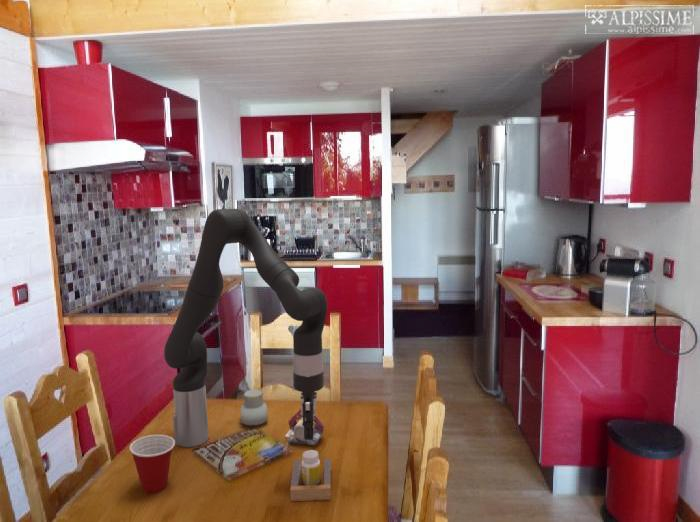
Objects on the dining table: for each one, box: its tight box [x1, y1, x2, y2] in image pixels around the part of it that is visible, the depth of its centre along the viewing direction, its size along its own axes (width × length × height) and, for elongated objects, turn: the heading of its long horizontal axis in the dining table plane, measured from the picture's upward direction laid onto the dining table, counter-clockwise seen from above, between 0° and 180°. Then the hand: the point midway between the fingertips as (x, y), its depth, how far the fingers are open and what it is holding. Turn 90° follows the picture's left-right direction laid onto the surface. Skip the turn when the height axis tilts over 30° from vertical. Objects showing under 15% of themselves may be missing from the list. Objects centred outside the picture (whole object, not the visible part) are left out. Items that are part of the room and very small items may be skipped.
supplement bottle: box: [300, 449, 322, 486], centre depth 127 cm, size 5×5×8 cm
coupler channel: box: [289, 458, 332, 502], centre depth 128 cm, size 10×14×3 cm
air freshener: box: [240, 389, 269, 426], centre depth 163 cm, size 11×8×10 cm
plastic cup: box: [129, 434, 176, 494], centre depth 127 cm, size 11×11×12 cm
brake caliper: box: [284, 408, 325, 447], centre depth 149 cm, size 11×11×12 cm
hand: (309, 430), depth 126 cm, fingers open, 8 cm apart
